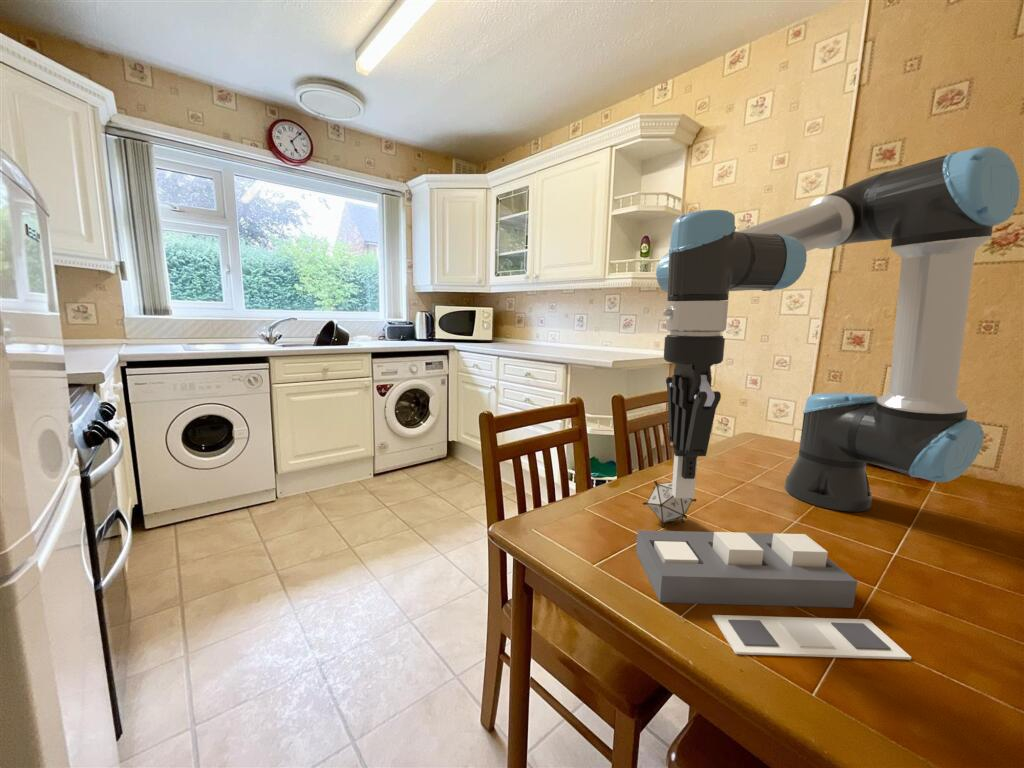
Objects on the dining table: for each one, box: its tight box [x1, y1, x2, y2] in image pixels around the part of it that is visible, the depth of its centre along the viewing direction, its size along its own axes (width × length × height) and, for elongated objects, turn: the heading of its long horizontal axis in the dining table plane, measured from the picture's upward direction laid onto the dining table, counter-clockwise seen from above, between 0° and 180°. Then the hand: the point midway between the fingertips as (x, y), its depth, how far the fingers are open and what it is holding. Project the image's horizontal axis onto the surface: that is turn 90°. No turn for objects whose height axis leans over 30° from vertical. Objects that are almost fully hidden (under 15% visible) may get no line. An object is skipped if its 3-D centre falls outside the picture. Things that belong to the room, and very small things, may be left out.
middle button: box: [712, 531, 764, 566], centre depth 62 cm, size 5×5×3 cm
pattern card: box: [711, 614, 912, 660], centre depth 51 cm, size 20×6×1 cm, turn 89°
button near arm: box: [771, 532, 829, 567], centre depth 61 cm, size 5×5×3 cm
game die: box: [642, 480, 698, 528], centre depth 78 cm, size 9×8×10 cm
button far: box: [654, 541, 699, 564], centre depth 62 cm, size 5×5×3 cm
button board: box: [635, 529, 858, 609], centre depth 62 cm, size 26×12×4 cm, turn 89°
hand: (682, 495), depth 60 cm, fingers closed
